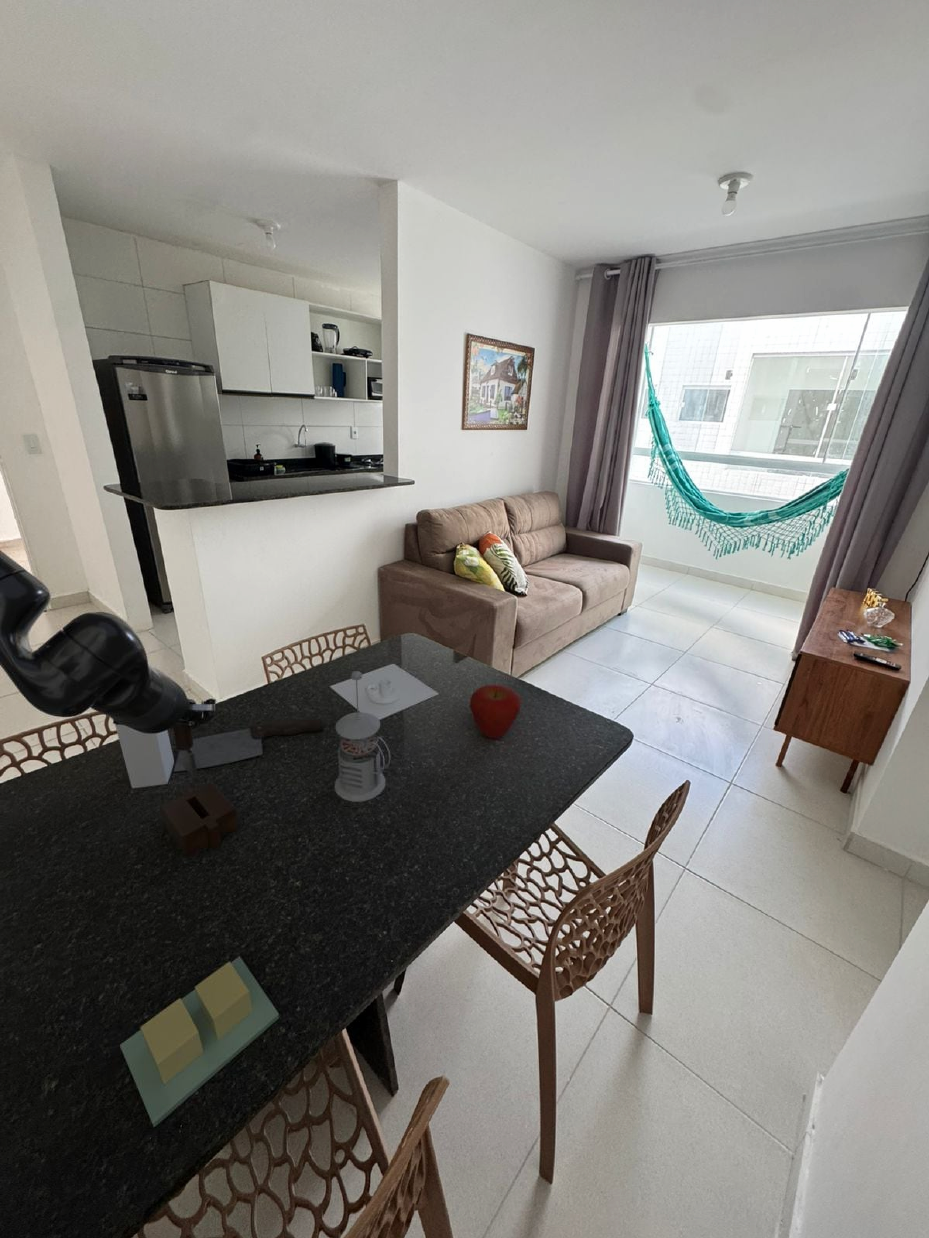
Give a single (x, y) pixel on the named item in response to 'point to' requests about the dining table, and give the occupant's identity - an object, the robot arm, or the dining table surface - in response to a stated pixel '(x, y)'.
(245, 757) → the cleaver
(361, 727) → the french press
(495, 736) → the apple
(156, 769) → the milk
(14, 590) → the robot arm
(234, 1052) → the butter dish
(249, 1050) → the dining table surface
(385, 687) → the teacup and saucer
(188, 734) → the wood-handled utensil
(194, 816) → the knife block
